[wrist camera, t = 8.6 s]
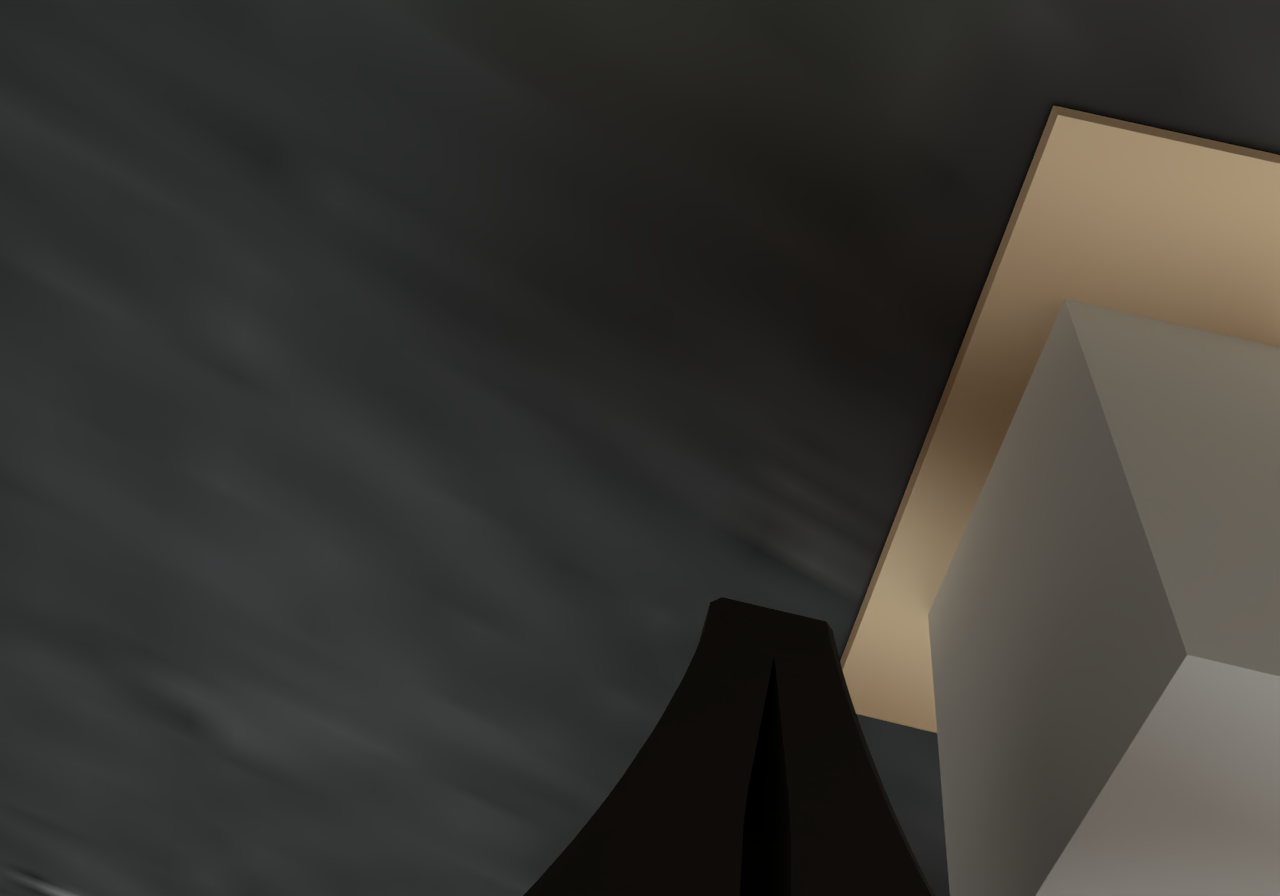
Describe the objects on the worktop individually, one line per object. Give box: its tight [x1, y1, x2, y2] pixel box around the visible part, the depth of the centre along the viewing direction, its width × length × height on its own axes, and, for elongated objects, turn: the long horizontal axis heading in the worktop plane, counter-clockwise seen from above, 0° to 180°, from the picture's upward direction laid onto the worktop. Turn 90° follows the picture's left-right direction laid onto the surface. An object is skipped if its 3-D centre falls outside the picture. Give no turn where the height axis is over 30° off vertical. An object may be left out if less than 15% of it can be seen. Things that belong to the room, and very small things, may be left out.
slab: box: [928, 299, 1280, 896], centre depth 14 cm, size 6×3×7 cm, turn 170°
